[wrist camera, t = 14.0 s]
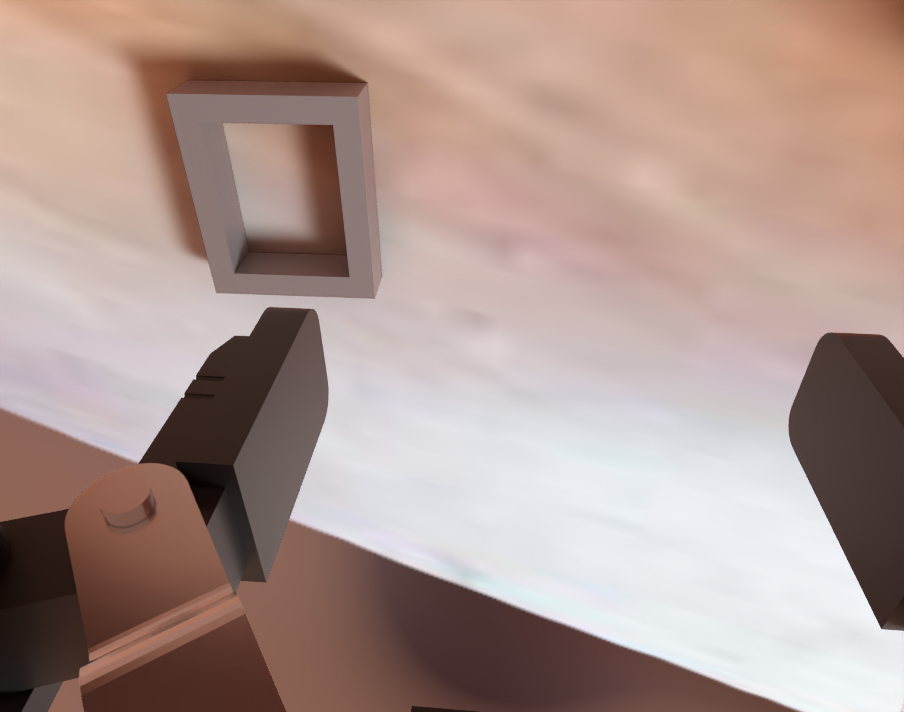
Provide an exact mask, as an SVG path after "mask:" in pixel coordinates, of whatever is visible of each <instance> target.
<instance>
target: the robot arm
mask: <svg viewBox="0 0 904 712" xmlns="http://www.w3.org/2000/svg"><path fill="white" fill-rule="evenodd" d="M327 406H328V380H327V373H326V366H325V359H324V352H323V345H322V339H321V332H320V325H319V319H318V315H317V313H316V311H315V310H314V309H300V308H277V307H269V308H267V309H266V310H265V311H264V313H263V314H262V316H261V318H260V319H259V321H258V323H257V324H256V326H255V328H254V329H253V331H252V333H251V334H250V336H234V337H233V338H231V339H230V340H229V341H227V342H226V343H224V344H223V345H222V346H220V347H219V348H218V349H216V350H215V351H213V352H212V353H211V354H210V355H209V357H208V358H207V360H206V361H205V363H204V364H203V366H202V367H201V369H200V370H199V372H198V373H197V375H196V380H193V381H192V383H191V384H190V386H189V387H188V389H187V390H186V392H185V397H184V398H181V399H180V401H179V402H178V404H177V406H176V407H175V409H174V410H173V412H172V413H171V415H170V416H169V418H168V419H167V421H166V422H165V424H164V425H163V427H162V428H161V430H160V431H159V433H158V435H157V436H156V438H155V439H154V441H153V442H152V444H151V445H150V447H149V448H148V450H147V451H146V453H145V454H144V456H143V457H142V459H141V461H140V462H139V464H136V465H131V466H127V467H123V468H120V469H117V470H115V471H113V472H110V473H108V474H106V475H104V476H102V477H101V478H99V479H97V480H96V481H94V482H93V483H91V484H90V485H89V486H88V487H87V488H85V489H84V490H83V491H82V492H81V493H80V494H79V495H78V496H77V497H76V498H75V500H74V501H73V503H72V504H71V506H70V507H69V509H66V510H61V511H56V512H51V513H46V514H40V515H36V516H30V517H25V518H20V519H14V520H9V521H3V522H0V712H48V710H49V708H50V706H51V704H52V702H53V700H54V698H55V696H56V694H57V692H58V690H59V688H60V686H61V684H62V682H63V681H66V680H70V679H74V678H78V677H79V683H80V691H81V697H82V703H83V709H84V712H286V709H285V707H284V705H283V702H282V700H281V698H280V695H279V693H278V691H277V688H276V686H275V683H274V681H273V678H272V676H271V674H270V671H269V669H268V667H267V664H266V662H265V659H264V657H263V655H262V652H261V650H260V647H259V645H258V643H257V640H256V638H255V635H254V633H253V631H252V628H251V626H250V624H249V621H248V619H247V617H246V614H245V612H244V609H243V607H242V605H241V602H240V600H239V598H238V596H237V594H236V590H237V588H238V585H239V583H240V581H254V582H267V579H268V576H269V574H270V571H271V568H272V565H273V562H274V560H275V557H276V554H277V551H278V549H279V546H280V543H281V540H282V537H283V534H284V532H285V529H286V526H287V523H288V521H289V518H290V515H291V512H292V510H293V507H294V504H295V501H296V499H297V496H298V493H299V490H300V487H301V485H302V482H303V479H304V476H305V474H306V471H307V468H308V465H309V462H310V460H311V457H312V454H313V451H314V449H315V446H316V443H317V440H318V437H319V435H320V432H321V429H322V426H323V423H324V421H325V417H326V413H327ZM789 436H790V441H791V445H792V447H793V449H794V451H795V453H796V455H797V458H798V460H799V462H800V464H801V466H802V468H803V470H804V472H805V474H806V476H807V478H808V480H809V482H810V484H811V486H812V488H813V490H814V492H815V494H816V496H817V498H818V500H819V502H820V505H821V507H822V509H823V511H824V513H825V515H826V517H827V519H828V521H829V523H830V525H831V527H832V529H833V531H834V533H835V535H836V537H837V539H838V541H839V543H840V545H841V547H842V549H843V551H844V554H845V556H846V558H847V560H848V562H849V564H850V566H851V568H852V570H853V572H854V574H855V576H856V578H857V580H858V582H859V584H860V586H861V588H862V590H863V592H864V594H865V596H866V598H867V600H868V603H869V605H870V607H871V609H872V611H873V613H874V615H875V617H876V619H877V621H878V623H879V625H880V627H881V629H888V630H902V631H904V358H903V357H902V355H901V354H900V353H899V352H898V351H897V349H896V348H895V347H894V346H893V344H892V343H891V342H890V341H889V340H888V339H887V338H886V337H885V336H883V335H876V334H853V333H827V334H825V335H824V336H822V338H821V339H820V340H819V342H818V344H817V346H816V348H815V350H814V353H813V355H812V358H811V360H810V363H809V365H808V368H807V370H806V373H805V375H804V378H803V380H802V383H801V385H800V388H799V390H798V393H797V395H796V398H795V400H794V402H793V405H792V408H791V411H790V416H789ZM411 712H476V711H465V710H453V709H441V708H429V707H417V706H416V707H415V706H412V709H411ZM901 712H904V702H903V705H902V709H901Z"/></svg>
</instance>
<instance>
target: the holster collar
mask: <svg viewBox="0 0 904 712" xmlns="http://www.w3.org/2000/svg"><path fill="white" fill-rule="evenodd" d="M166 95H167V99H168V103H169V107H170V111H171V115H172V119H173V123H174V127H175V131H176V135H177V139H178V143H179V147H180V151H181V155H182V159H183V163H184V167H185V171H186V175H187V179H188V183H189V187H190V190H191V194H192V198H193V202H194V206H195V210H196V214H197V218H198V222H199V226H200V230H201V234H202V238H203V242H204V246H205V250H206V254H207V258H208V262H209V266H210V270H211V274H212V278H213V282H214V286H215V290H216V293H232V294H260V295H287V296H315V297H343V298H371V299H375V296H376V293H377V290H378V287H379V284H380V281H381V278H382V267H381V254H380V240H379V227H378V214H377V201H376V187H375V174H374V161H373V148H372V134H371V121H370V108H369V95H368V83H349V82H285V81H220V80H187V81H186V82H184V83H183V84H181V85H179V86H178V87H176V88H174V89H173V90H171V91H170V92H168V93H166ZM222 123H255V124H306V125H333V130H334V139H335V148H336V158H337V167H338V176H339V185H340V194H341V203H342V212H343V221H344V231H345V240H346V249H347V255H328V254H296V253H265V252H249V248H248V244H247V239H246V234H245V229H244V224H243V220H242V215H241V210H240V205H239V200H238V196H237V191H236V186H235V181H234V176H233V172H232V167H231V162H230V157H229V152H228V148H227V143H226V138H225V133H224V128H223V124H222Z"/></svg>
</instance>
